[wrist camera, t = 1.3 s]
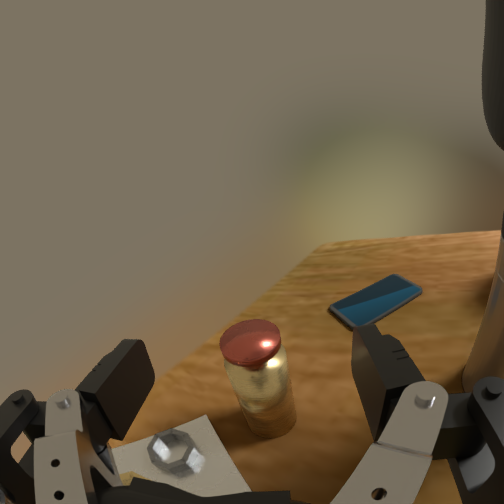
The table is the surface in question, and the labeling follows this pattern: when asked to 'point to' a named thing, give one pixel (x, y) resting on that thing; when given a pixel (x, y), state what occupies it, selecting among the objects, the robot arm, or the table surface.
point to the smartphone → (375, 301)
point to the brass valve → (260, 376)
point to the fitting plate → (182, 460)
